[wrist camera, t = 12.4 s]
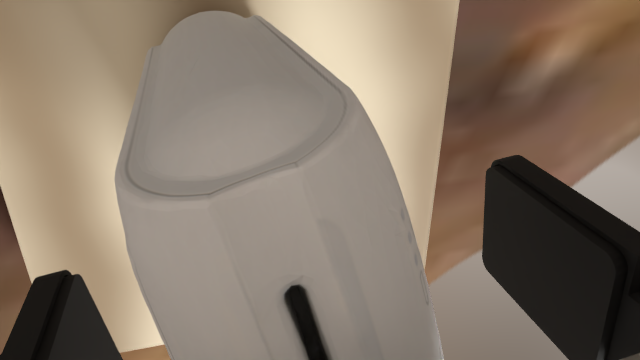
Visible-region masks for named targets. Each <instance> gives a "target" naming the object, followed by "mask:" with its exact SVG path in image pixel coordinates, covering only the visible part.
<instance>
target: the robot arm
mask: <svg viewBox="0 0 640 360" xmlns="http://www.w3.org/2000/svg"><path fill="white" fill-rule="evenodd" d="M482 258H483V263H484V265H485V268H486V269H487V270H488V272H489V273H490V274H491V275H492V276H493V277H494V278H495V279H496V281H497V282H498V283H499V284H500V285H501V286H502V287H503V288H504V289H505V291H506V292H507V293H508V294H509V295H510V296H511V297H512V298H513V299H514V300H515V301H516V303H518V305H519V306H520V307H521V308H522V309H523V310H524V311H525V312H526V313H527V315H528V316H529V317H530V318H531V319H532V320H533V321H534V322H535V323H536V324H537V325H538V326H539V327H540V329H541V330H542V331H543V332H544V333H545V334H546V335H547V336H548V337H549V338H550V339H551V341H552V342H553V343H554V344H555V345H556V346H557V347H558V348H559V349H560V350H561V352H562V353H563V354H564V355H565V356H566V357H567V358H568V359H569V360H640V232H639V231H637V230H636V229H634V228H633V227H631V226H629V225H628V224H626V223H625V222H623V221H621V220H620V219H618V218H617V217H615V216H614V215H612V214H611V213H609V212H608V211H606V210H605V209H603V208H602V207H600V206H598V205H597V204H595V203H594V202H592V201H591V200H589V199H588V198H586V197H584V196H583V195H581V194H580V193H578V192H577V191H575V190H574V189H572V188H570V187H569V186H567V185H566V184H564V183H563V182H561V181H560V180H558V179H556V178H555V177H553V176H552V175H550V174H549V173H547V172H546V171H544V170H542V169H541V168H539V167H538V166H536V165H535V164H533V163H532V162H530V161H528V160H527V159H525V158H524V157H522V156H520V155H514V156H510V157H506V158H502V159H498V160H495V161H494V162H493V163H492V165H491V168H489V169H487V171H486V183H485V206H484V228H483V251H482ZM0 360H123V359H122V357H121V355H120V353H119V351H118V349H117V347H116V345H115V343H114V341H113V339H112V337H111V335H110V333H109V331H108V329H107V327H106V325H105V323H104V321H103V318H102V316H101V314H100V312H99V310H98V308H97V306H96V304H95V302H94V300H93V298H92V296H91V294H90V292H89V290H88V288H87V286H86V284H85V282H84V280H83V278H82V277H81V275H80V274H74V275H72V274H71V273H70V272H69V271H68V270H62V271H58V272H54V273H50V274H46V275H42V276H39V277H36V278H35V279H34V281H33V283H32V285H31V288H30V290H29V292H28V294H27V297H26V299H25V301H24V304H23V306H22V308H21V311H20V313H19V315H18V318H17V320H16V322H15V324H14V327H13V329H12V331H11V334H10V336H9V338H8V341H7V343H6V345H5V347H4V350H3V352H2V354H1V355H0Z"/></svg>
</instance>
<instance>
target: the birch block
mask: <svg viewBox="0 0 640 360" xmlns="http://www.w3.org/2000/svg"><path fill="white" fill-rule="evenodd" d="M458 7H459V0H0V186H1V189H2V192H3V196H4V199H5V202H6V205H7V208H8V211H9V214H10V217H11V220H12V224H13V227H14V230H15V233H16V236H17V239H18V242H19V245H20V248H21V252H22V255H23V258H24V261H25V264H26V267H27V270H28V273H29V276H30V280H31V283H33V281H34V279H35V278H36V277H39V276H42V275H46V274H50V273H54V272H58V271H62V270H68V271H69V272H70V273H71V274H72V275H74V274H80V275H81V277H82V278H83V280H84V282H85V284H86V286H87V288H88V290H89V292H90V294H91V296H92V298H93V300H94V302H95V304H96V306H97V308H98V310H99V312H100V314H101V316H102V318H103V321H104V323H105V325H106V327H107V329H108V331H109V333H110V335H111V337H112V339H113V341H114V343H115V345H116V347H117V349H118V351H119V353H120V352H126V351H131V350H136V349H142V348H147V347H153V346H158V345H163V344H164V342H163V341H162V338H161V336H160V334H159V332H158V329H157V327H156V325H155V322H154V320H153V318H152V315H151V313H150V311H149V309H148V306H147V304H146V302H145V300H144V298H143V296H142V293H141V290H140V287H139V284H138V282H137V279H136V277H135V275H134V272H133V269H132V265H131V262H130V259H129V255H128V252H127V248H126V239H125V232H124V228H123V224H122V219H121V215H120V211H119V206H118V201H117V194H116V188H115V179H114V178H115V170H116V166H117V161H118V158H119V154H120V151H121V148H122V144H123V140H124V136H125V133H126V128H127V126H128V122H129V118H130V115H131V111H132V108H133V104H134V101H135V98H136V93H137V90H138V86H139V82H140V78H141V75H142V71H143V67H144V62H145V58H146V55H147V52H148V50H149V49H150V48H151V47H154V46H159V45H161V44H162V42H163V40H164V39H165V37H166V35H167V34H168V33H169V31H170V30H171V29H172V28H173V27H174V26H175V25H176V24H178V23H179V22H180V21H182V20H183V19H185V18H187V17H189V16H191V15H194V14H197V13H199V12H205V11H226V12H231V13H234V14H237V15H240V16H242V17H244V18H248V17H251V16H253V15H258V16H261V17H262V18H264V19H265V20H266V21H268V22H269V23H271V24H272V25H273V26H274V27H276V28H277V29H278V30H279V31H280V32H282V33H283V34H284V35H286V36H287V37H288V38H289V39H291V40H292V41H293V42H294V43H296V44H297V45H298V46H299V47H301V48H302V49H303V50H304V51H305V52H307V53H308V54H309V55H310V56H312V57H313V58H314V59H315V60H316V61H317V62H319V63H320V64H321V65H323V66H324V67H325V68H326V69H328V70H329V71H330V72H331V73H333V74H334V75H335V76H336V77H337V78H338V79H339V80H341V81H342V82H343V83H345V84H346V85H347V86H348V87H350V88H351V90H352V91H353V92H354V94H355V95H356V96H357V98H358V99H359V101H360V103H361V104H362V106H363V107H364V109H365V111H366V113H367V114H368V116H369V118H370V120H371V122H372V124H373V126H374V127H375V129H376V131H377V133H378V135H379V137H380V139H381V142H382V144H383V146H384V148H385V150H386V152H387V155H388V157H389V159H390V162H391V164H392V167H393V169H394V172H395V174H396V177H397V180H398V183H399V186H400V189H401V191H402V194H403V197H404V200H405V203H406V207H407V210H408V213H409V216H410V220H411V223H412V227H413V230H414V234H415V237H416V241H417V245H418V248H419V251H420V255H421V258H422V262H423V267H424V271H425V263H426V255H427V248H428V240H429V232H430V224H431V216H432V209H433V201H434V193H435V185H436V178H437V170H438V162H439V154H440V147H441V139H442V131H443V123H444V116H445V108H446V100H447V92H448V85H449V77H450V69H451V61H452V54H453V46H454V38H455V30H456V23H457V15H458Z"/></svg>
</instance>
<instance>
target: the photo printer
mask: <svg viewBox="0 0 640 360" xmlns="http://www.w3.org/2000/svg"><path fill="white" fill-rule="evenodd" d="M114 179H115V188H116V194H117V201H118V206H119V211H120V215H121V219H122V224H123V228H124V232H125V239H126V248H127V252H128V255H129V259H130V262H131V265H132V269H133V272H134V275H135V277H136V279H137V282H138V284H139V287H140V290H141V293H142V296H143V298H144V300H145V302H146V304H147V306H148V309H149V311H150V313H151V315H152V318H153V320H154V322H155V325H156V327H157V329H158V332H159V334H160V336H161V338H162V341H163V342H164V344H165V346H166V349H167V351H168V353H169V356H170V358H171V360H444V357H443V353H442V347H441V341H440V336H439V332H438V327H437V323H436V318H435V313H434V308H433V303H432V299H431V295H430V291H429V286H428V282H427V278H426V275H425V271H424V267H423V262H422V258H421V255H420V251H419V248H418V245H417V241H416V237H415V234H414V230H413V227H412V223H411V220H410V216H409V213H408V210H407V207H406V203H405V200H404V197H403V194H402V191H401V189H400V186H399V183H398V180H397V177H396V174H395V172H394V169H393V167H392V164H391V162H390V159H389V157H388V155H387V152H386V150H385V148H384V146H383V144H382V142H381V139H380V137H379V135H378V133H377V131H376V129H375V127H374V126H373V124H372V122H371V120H370V118H369V116H368V114H367V113H366V111H365V109H364V107H363V106H362V104H361V103H360V101H359V99H358V98H357V96H356V95H355V94H354V92H353V91H352V90H351V88H350V87H348V86H347V85H346V84H345V83H343V82H342V81H341V80H339V79H338V78H337V77H336V76H335V75H334V74H333V73H331V72H330V71H329V70H328V69H326V68H325V67H324V66H323V65H321V64H320V63H319V62H317V61H316V60H315V59H314V58H313V57H312V56H310V55H309V54H308V53H307V52H305V51H304V50H303V49H302V48H301V47H299V46H298V45H297V44H296V43H294V42H293V41H292V40H291V39H289V38H288V37H287V36H286V35H284V34H283V33H282V32H280V31H279V30H278V29H277V28H276V27H274V26H273V25H272V24H271V23H269V22H268V21H266V20H265V19H264V18H262V17H261V16H258V15H253V16H251V17H248V18H244V17H242V16H240V15H237V14H234V13H231V12H226V11H205V12H199V13H197V14H194V15H191V16H189V17H187V18H185V19H183V20H182V21H180V22H179V23H178V24H176V25H175V26H174V27H173V28H172V29H171V30H170V31H169V33H168V34H167V35H166V37H165V39H164V40H163V42H162V44H161V45H159V46H154V47H151V48H150V49H149V50H148V52H147V55H146V58H145V62H144V67H143V71H142V75H141V78H140V82H139V86H138V90H137V93H136V98H135V101H134V104H133V108H132V111H131V115H130V118H129V122H128V126H127V128H126V133H125V136H124V140H123V144H122V148H121V151H120V154H119V158H118V161H117V166H116V170H115V178H114Z"/></svg>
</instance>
